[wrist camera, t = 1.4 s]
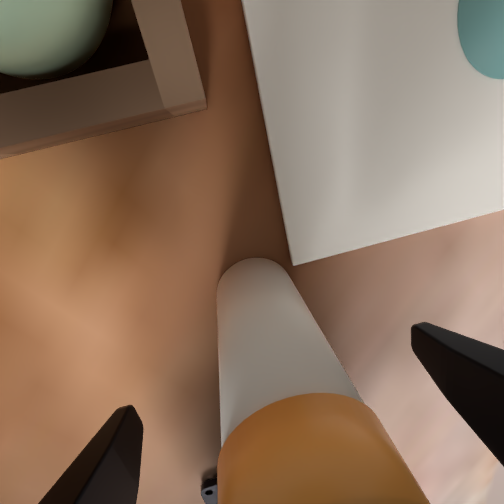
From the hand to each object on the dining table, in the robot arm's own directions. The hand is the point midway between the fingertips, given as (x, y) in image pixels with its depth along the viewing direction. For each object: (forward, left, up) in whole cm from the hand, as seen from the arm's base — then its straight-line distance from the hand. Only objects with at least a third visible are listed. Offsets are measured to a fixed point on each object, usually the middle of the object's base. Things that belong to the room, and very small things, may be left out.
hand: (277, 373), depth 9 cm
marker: (0, 0, -5) cm, 5 cm away
